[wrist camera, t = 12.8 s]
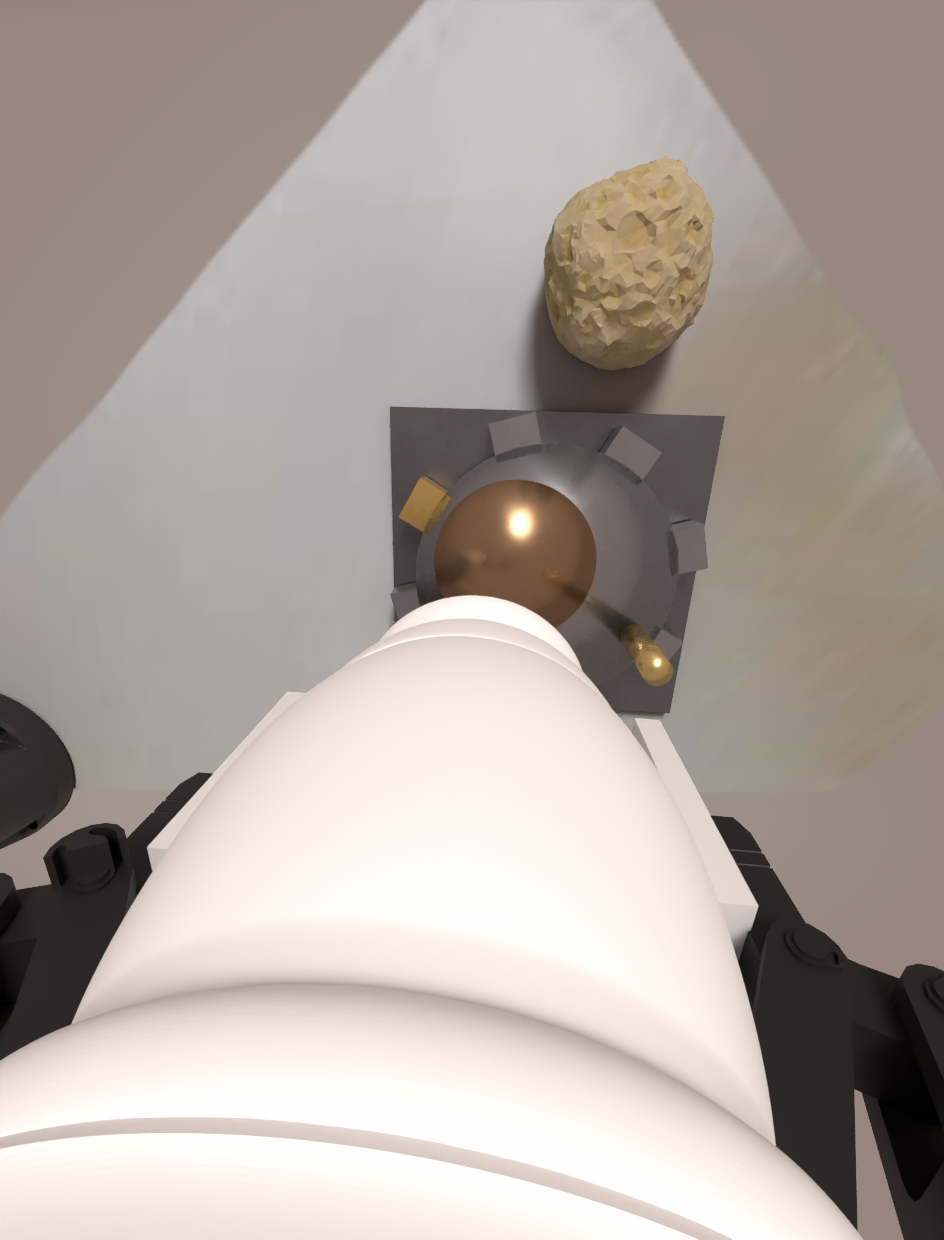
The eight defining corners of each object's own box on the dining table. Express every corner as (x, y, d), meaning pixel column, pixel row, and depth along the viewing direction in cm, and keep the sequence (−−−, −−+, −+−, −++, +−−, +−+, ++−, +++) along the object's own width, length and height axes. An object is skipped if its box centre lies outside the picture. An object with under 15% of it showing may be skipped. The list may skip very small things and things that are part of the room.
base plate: (392, 407, 34) (389, 406, 33) (719, 417, 33) (726, 416, 32) (398, 693, 41) (396, 699, 40) (666, 708, 40) (670, 714, 39)
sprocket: (346, 617, 38) (308, 659, 31) (496, 345, 31) (494, 314, 24) (578, 749, 41) (595, 818, 33) (761, 526, 34) (835, 549, 27)
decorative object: (651, 224, 33) (617, 66, 24) (756, 314, 29) (760, 170, 21) (542, 336, 36) (478, 234, 27) (625, 429, 33) (582, 346, 24)
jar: (566, 839, 20) (688, 1714, 6) (323, 782, 20) (-96, 1533, 6) (655, 602, 17) (1396, 1416, 3) (360, 531, 17) (-436, 986, 3)
